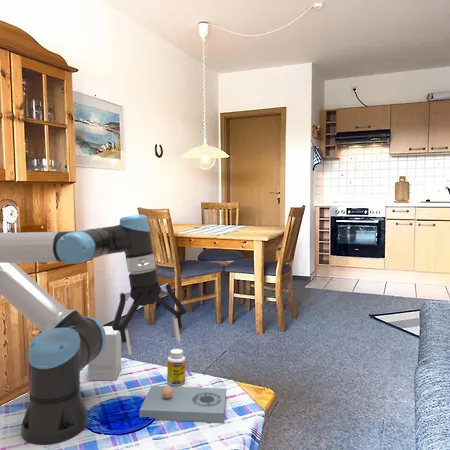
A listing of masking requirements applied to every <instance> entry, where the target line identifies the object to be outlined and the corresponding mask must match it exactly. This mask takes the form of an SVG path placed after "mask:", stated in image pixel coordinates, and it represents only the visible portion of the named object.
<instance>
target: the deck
mask: <svg viewBox="0 0 450 450" xmlns="http://www.w3.org/2000/svg"><path fill="white" fill-rule="evenodd" d="M165 387H170V388H171V389H172V390H173V394H172V396H171V397H170V398H168V399H166V398H164V397H163V396H162V390H163V389H164V388H165ZM226 401H227V388H226V387H225V388H223V387H222V388H221V387H220V388H218V387H197V386H196V387H195V386H172V385H167V386H166V385H151V386H150V388H149V390H148V392H147V394H146V396H145V399H144V400H143V402H142V403H141V406H140V408H139V412H138V413H139V415H138V416H139V417H151V418H152V417H153V418H155V420H154V421H171V422H172V421H173V422H194V423H195V422H199V423H221V424H222V423H223V424H224V421H225V413H226Z"/></svg>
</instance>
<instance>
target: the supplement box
mask: <svg viewBox="0 0 450 450" xmlns="http://www.w3.org/2000/svg"><path fill="white" fill-rule="evenodd" d="M102 326H103V328H104V330H105V334H106V341H105V345H104V347H103V349H102V351H101V352H100V353H99V355H98V356H97V357H96V358H95V359H94V360H92V361H91V362H90V363H88V364H87V370H88V372H87V375H88V376H87V377H88V379H87V380H88V381H116V380H117V379H118V377H119V375H120V372H121V370H122V340H121V335H120V331H117V330H116V331H114V330H113V328H112V325H111V326H110V325H109V326H107V325H105V326H104V325H102Z"/></svg>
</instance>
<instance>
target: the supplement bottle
mask: <svg viewBox="0 0 450 450" xmlns="http://www.w3.org/2000/svg"><path fill="white" fill-rule="evenodd" d="M169 352H170V353H169V354H170V355H169V356H168V357H167V371H166V372H167V375H166V376H167V377H166V379H167V384H168V386H172V387H181V385H184V384H185V382H186V356H184V351H183V349H181V348H173V349H171V350H170V351H169Z"/></svg>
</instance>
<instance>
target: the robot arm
mask: <svg viewBox="0 0 450 450" xmlns="http://www.w3.org/2000/svg"><path fill="white" fill-rule="evenodd" d="M151 236H152V235H151V229H150V225H149V221H148V217H147V215H145V214H135V215H129V216H122V217H120V218H119V224H117V225H113V226H107V227H105V226H104V227H98V228H89V229H87V230H86V229H85V230H75V231H74V230H73V231H72V230H70V231H68V230H67V231H31V232H30V231H27V232H0V295H1V296H2V298H3V299H5V300H6V301H7V302H8V303H9V304H10V305H11V306H13V308H15V309H16V310H17V311H18V312H19V313H20V314H21V315H23V316H24V317H25V318H26V319H27V320H28V321H29V322H30V323H31V324H32V325H34V326H35V327H36V328H37V330H39V331H40V332H39V333H38V334H37V335H35V336H34V337H33V338H32V339H31V340H30V343H29V348H28V353H27V354H28V355H27V361H28V385H29V386H28V387H29V388H28V390H29V399H28V400H29V401H28V403H27V407H26V411H25V413H24V416H23V419H22V423H21V437H22V439H24V440H25V441H27V442H29V443H31V444H37V445H48V444H55V443H60V442H63V441H66V440H68V439H71V438H74V437H75V436H77V435H78V434H80V433H82V431H83V430H84V429H85V428H86V427H87V425H88V411H87V408H86V406H85V403H84V400H83V398H82V395H81V386H80V385H81V378H80V377H81V376H80V375H81V371H82V370H83V369H85V367H86V366H88V363H90V362H91V361H92V360H94V359H95V358H96V357H97V356H98V355H99V353H100V352H101V351H102V349H103V347H104V345H105V341H106V334H105V330H104V328H103V326H104V325H103V324H102V323H101V322H100V321H99V320H98V319H96V318H94V317H92V316H91V317H90V316H84V315H82V314H81V313H79V311H78V310H76V309H67V308H66V307H65V306H63V305H62V303H60V302H59V301H58V300H57V299H56V298H55V297H54V296H52V295H51V294H50V293H49V292H48V291H47V290H46V289H44V287H42V286H41V285H40V284H39V283H38V282H37V281H36V280H34V278H32V277H31V276H30V275H29V274H28V273H26V271H24V270H23V269H22V268H21V267H20V266H19V265H18V264H20V263H21V264H23V263H66V264H68V265H76V264H83V263H86V262H87V261H91V260H92V259H96V258H100V257H103V256H107V255H112V254H117V253H124V254H125V262H126V269H127V272H128V273H129V274H128V280H129V286H130V292H125V293H124V292H120V293H119V303H118V306H117V309H116V312H115V316H114V319H113V322H112V325H111V326H112V328H113V330H114V331H116V330H117V331H120V335H121V343H122V344H124V343H126V344H125V345H126V350H127V354H128V355H129V356H131V355H132V354H133V353H132V347H131V342H130V334H129V331H128V328H127V326H128V324H129V323H130V322H131V320H132V318H133V317H134V315H135V313H136V311H137V309H138V308H140V307H139V306H141V307H144V306H145V307H146V306H148V305H154V304H155V303H156V302H157V303H159V304H160V305H161V306H162V307H164V308H165V309H166V310H167V311H169V312H170V313H171V314H173V315H174V316H172V317H171V319H172V323H173V330H174V336H175V340H176V342H178V343H180V342H181V336H180V335H181V334H180V330H179V329H182V328H183V325H182V315H185V314H187V309H186V308H185V307H184V306H183V304H182V303H181V302H180V300H179V299H178V297H177V296H176V295H175V294H174V292H173V290H172V287H171V284H169V283H167V282H166V283H164V284H163V285H160V284H159V279H158V273H157V270H156V269H155V268H156V261H155V256H154V255H155V254H154V251H153V244H152V237H151ZM17 263H18V264H17ZM162 291H163V292H164V293H166V295H168V297H169V298H170V299H171V301H172V302H173V303H174V305H175V306H176V307H177V309H178V310H175V308H173V307H172V306H171V305H170V304H168V303H167V302H166V301H165V300H163V298H161V297H160V293H161V292H162ZM129 298H131V299H133V302H132V304H131V305H130V307H129V310H128V311H127V313H126V315H125V316H124V317H123V320H122V321H121V319H122V315H123V313H124V310H125V306H126V302H127V301H128V300H129ZM120 322H121V323H120Z"/></svg>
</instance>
